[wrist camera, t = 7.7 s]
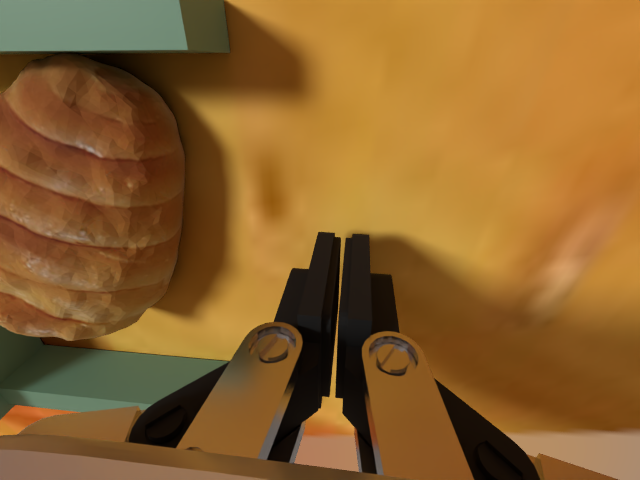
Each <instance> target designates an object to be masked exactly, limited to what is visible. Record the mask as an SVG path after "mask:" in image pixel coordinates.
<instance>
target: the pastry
mask: <svg viewBox="0 0 640 480" xmlns="http://www.w3.org/2000/svg"><path fill="white" fill-rule="evenodd" d="M184 187H185V154H184V150H183V147H182V144H181V141H180V137H179V133H178V128H177V123H176V120H175V117H174V115H173V113H172V112H171V110H170V109H169V108H168V106H167V105H166V103H165V102H164V100H163V99H162V98H161V96H160V95H159V94H158V93H157V92H156V91H155V90H153V89H152V88H150V87H149V86H147V85H146V84H144V83H143V82H141V81H140V80H139V79H137V78H136V77H135V76H133V75H131V74H129V73H128V72H126V71H124V70H121V69H119V68H116V67H113V66H109V65H106V64H102V63H99V62H96V61H93V60H91V59H88V58H86V57H83V56H80V55H77V54H73V53H58V54H56V55H54V56H48V57H46V58H44V59H36V60H32V61H31V62H29V63H28V64H27V66H26V67H25V68H24V69H23V70H22V71H21V72H20V74H19V76H18V78H17V79H16V80H15V81H14V82H13V83H12V85H11V86H10V87H9V88H8V89H7V90H6V91H4V92H3V93H1V94H0V325H1V326H2V327H4V328H6V329H7V330H9V331H11V332H14V333H16V334H22V335H25V336H33V337H59V338H63V339H65V340H67V341H75V340H79V339H89V338H96V337H100V336H103V335H107V334H111V333H113V332H116V331H118V330H120V329H123V328H126V327H128V326H130V325H132V324H133V323H135V322H137V321H138V320H139V318H140V317H141V316H142V314H143V313H144V312H145V311H146V309H147V308H150V307H151V306H152V305H154V304H155V303H156V302H157V301H158V300H159V299H161V298H162V297H163V296H164V295H165V293H166V291H167V289H168V286H169V282H170V279H171V276H172V274H173V271H174V268H175V265H176V263H177V257H178V245H179V242H180V239H181V229H182V223H183V198H184Z"/></svg>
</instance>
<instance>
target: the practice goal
mask: <svg viewBox="0 0 640 480" xmlns="http://www.w3.org/2000/svg"><path fill="white" fill-rule="evenodd" d="M58 53H73V54H124V53H230V47H229V39H228V31H227V23H226V15H225V7H224V0H0V54H58ZM227 362H229V361H219V360H207V359H196V358H185V357H174V356H163V355H152V354H141V353H130V352H119V351H108V350H97V349H86V348H75V347H64V346H53V345H44V344H43V342H42V341H41V339H40V338H39V337H33V336H25V335H22V334H16V333H14V332H11V331H9V330H7V329H6V328H4V327H2V326H1V325H0V419H1V418H2V417H3V416H4V415H5V414H6V413H7V412H8V411H9V410H10V409H11V408H12V407H14V406H15V405H22V406H31V407H40V408H49V409H58V410H67V411H76V412H89V411H98V410H107V409H115V408H124V407H132V406H139V408H140V410H146V409H147V408H148V407H150V406H151V405H153V404H154V403H156V402H157V401H158V400H160V399H162V398H164V397H166V396H167V395H169V394H171V393H173V392H175V391H177V390H178V389H180V388H182V387H184V386H186V385H187V384H189V383H191V382H193V381H195V380H197V379H198V378H200V377H202V376H204V375H206V374H207V373H209V372H211V371H213V370H215V369H217V368H218V367H220V366H222V365H224V364H226V363H227Z"/></svg>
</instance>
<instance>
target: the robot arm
mask: <svg viewBox="0 0 640 480" xmlns="http://www.w3.org/2000/svg"><path fill="white" fill-rule="evenodd" d="M340 247H341V237H335V233H327V232H318V236H317V239H316V243H315V247H314V251H313V255H312V259H311V263H310V267H309V269H298V268H293V269H292V270H291V272H290V275H289V278H288V281H287V284H286V287H285V290H284V293H283V296H282V299H281V302H280V305H279V308H278V311H277V314H276V317H275V320H274V322H270V323H265V324H262V325H260V326H257V327H256V328H254V329H253V330H252V331H250V332H249V334H248V335H247V336H246V337H245V338H244V340H243V342H242V343H241V345H240V346H239V348H238V350H237V351H236V353H235V354H234V356H233V358H232V359H231V361H229V362H227V363H226V364H224V365H222V366H220V367H218V368H217V369H215V370H213V371H211V372H209V373H207V374H206V375H204V376H202V377H200V378H198V379H197V380H195V381H193V382H191V383H189V384H187V385H186V386H184V387H182V388H180V389H178V390H177V391H175V392H173V393H171V394H169V395H167V396H166V397H164V398H162V399H160V400H158V401H157V402H156V403H154V404H153V405H151V406H150V407H148V408H147V409H146V410H140V408H139V406H132V407H124V408H115V409H107V410H98V411H89V412H81V413H72V414H63V415H55V416H51V417H47V418H43V419H41V420H39V421H37V422H35V423H33V424H31V425H29V426H28V427H26V428H25V429H24V430H22V431H21V432H20V433H19V434H17V435H3V436H0V480H618V479H615V478H612V477H609V476H606V475H603V474H600V473H597V472H594V471H591V470H588V469H585V468H582V467H579V466H576V465H573V464H570V463H567V462H564V461H561V460H558V459H555V458H552V457H549V456H546V455H543V454H540V453H539V454H538V456H537V457H533V456H530V455H527V454H526V453H525V452H524V451H523V450H522V449H521V448H520V447H519V446H518V445H517V444H516V443H515V442H514V441H512V440H511V439H510V438H509V437H508V436H506V435H505V434H504V433H503V432H501V431H500V430H499V429H497V428H496V427H495V426H494V425H492V424H491V423H490V422H489V421H487V420H486V419H485V418H484V417H482V416H481V415H480V414H479V413H477V412H476V411H475V410H474V409H472V408H471V407H470V406H469V405H467V404H466V403H465V402H463V401H462V400H461V399H460V398H458V397H457V396H456V395H455V394H453V393H452V392H451V391H450V390H448V389H447V388H446V387H445V386H443V385H442V384H441V383H440V382H438V381H437V380H436V379H435V378H434V377H433V375H432V372H431V370H430V367H429V365H428V362H427V360H426V357H425V355H424V353H423V351H422V349H421V348H420V346H419V345H418V344H417V343H416V342H415V341H414V340H412V339H411V338H409V337H407V336H406V335H403V334H400V333H399V326H398V319H397V311H396V304H395V297H394V290H393V282H392V276H391V275H387V274H372V273H370V251H369V235H363V234H353V235H352V238H346V242H345V252H344V263H343V274H342V285H341V296H340V307H339V320H338V343H337V370H336V396H335V397H336V398H343V412H342V413H343V414H344V416H345V417H346V418H347V419H348V420H349V421H350V422H351V424H352V425H353V426H354V427H355V431H354V435H355V442H356V451H357V459H358V467H359V472H355V471H347V470H339V469H331V468H324V467H317V466H309V465H301V464H294V462H295V458H296V455H297V452H298V449H299V445H300V442H301V439H302V436H303V432H304V429H305V423H306V419H308V418H309V417H310V416H312V415H313V414H314V413H315V412H317V411H318V408H321V403H322V396H325V397H329V396H330V386H331V376H332V365H333V355H334V345H335V335H336V324H337V314H338V301H339V274H340Z"/></svg>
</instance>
